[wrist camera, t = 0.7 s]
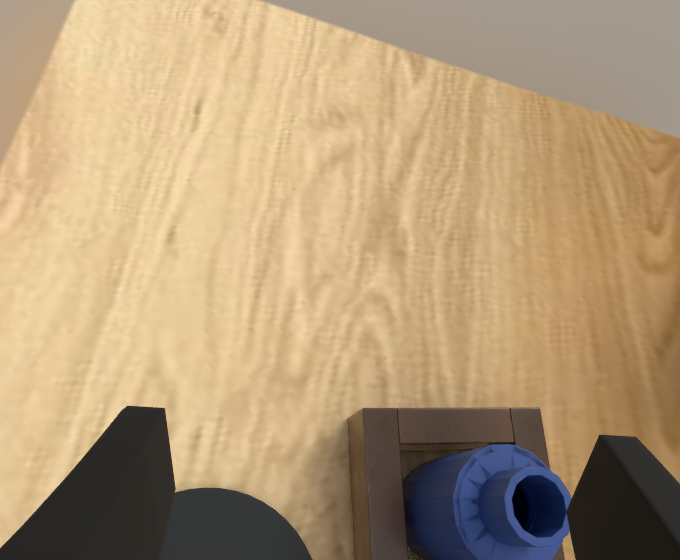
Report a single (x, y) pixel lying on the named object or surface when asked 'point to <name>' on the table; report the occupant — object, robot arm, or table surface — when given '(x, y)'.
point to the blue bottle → (486, 506)
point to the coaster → (228, 529)
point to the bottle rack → (419, 434)
